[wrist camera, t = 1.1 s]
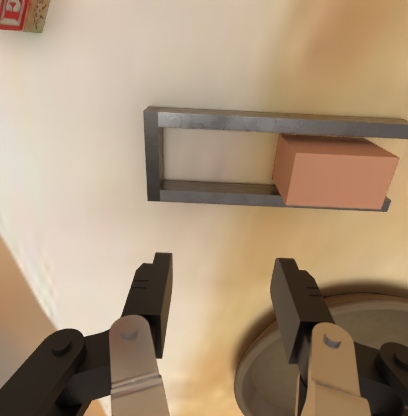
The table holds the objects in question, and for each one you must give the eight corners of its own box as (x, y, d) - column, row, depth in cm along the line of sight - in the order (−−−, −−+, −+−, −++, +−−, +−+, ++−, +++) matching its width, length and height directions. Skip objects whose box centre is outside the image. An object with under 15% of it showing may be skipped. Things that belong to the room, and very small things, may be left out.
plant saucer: (408, 418, 50) (426, 450, 46) (227, 415, 51) (229, 447, 47) (493, 277, 36) (529, 306, 32) (238, 274, 36) (242, 302, 32)
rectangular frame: (402, 119, 27) (420, 125, 25) (374, 200, 31) (387, 211, 29) (148, 106, 27) (143, 111, 25) (152, 190, 31) (147, 200, 28)
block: (363, 137, 28) (399, 157, 23) (350, 181, 30) (380, 209, 25) (279, 133, 28) (296, 152, 23) (271, 178, 30) (285, 205, 25)
